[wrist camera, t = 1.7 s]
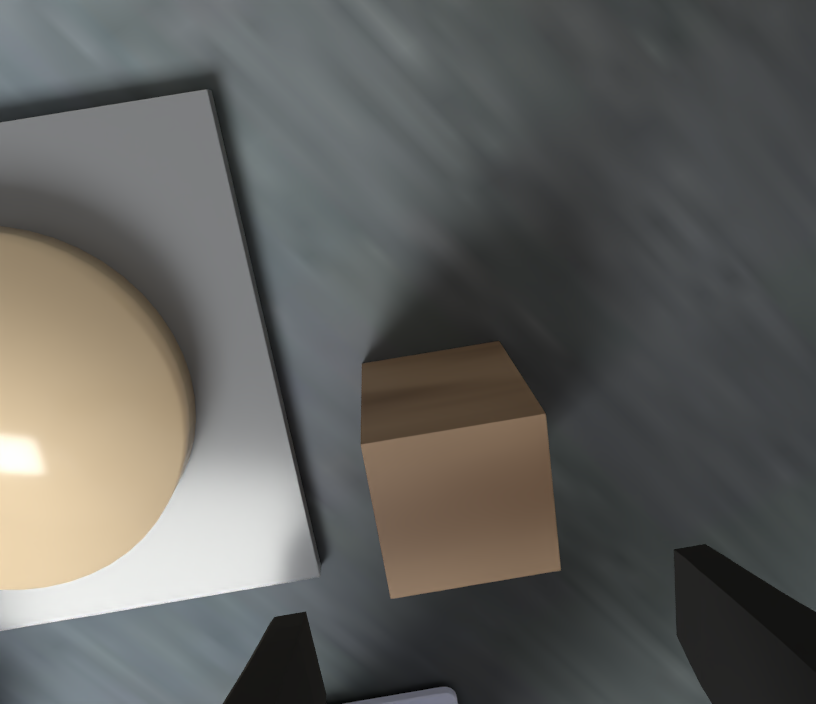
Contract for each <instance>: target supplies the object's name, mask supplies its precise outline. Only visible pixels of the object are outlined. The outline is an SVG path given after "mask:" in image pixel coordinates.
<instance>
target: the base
mask: <svg viewBox="0 0 816 704" xmlns="http://www.w3.org/2000/svg"><path fill="white" fill-rule="evenodd" d="M320 572H321V564H320V560H319V555H318V551H317V547H316V542H315V538H314V534H313V529H312V525H311V521H310V516H309V512H308V508H307V503H306V499H305V494H304V490H303V486H302V481H301V477H300V473H299V468H298V464H297V460H296V455H295V451H294V447H293V442H292V438H291V434H290V429H289V425H288V421H287V416H286V412H285V408H284V403H283V399H282V394H281V390H280V386H279V381H278V377H277V373H276V368H275V364H274V360H273V355H272V351H271V347H270V342H269V338H268V334H267V329H266V325H265V321H264V316H263V312H262V308H261V303H260V299H259V294H258V290H257V286H256V281H255V277H254V273H253V268H252V264H251V260H250V255H249V251H248V247H247V242H246V238H245V234H244V229H243V225H242V221H241V216H240V212H239V208H238V203H237V199H236V195H235V190H234V186H233V181H232V177H231V173H230V168H229V164H228V160H227V155H226V151H225V147H224V142H223V138H222V134H221V129H220V125H219V121H218V116H217V112H216V108H215V103H214V99H213V95H212V90H208V89H205V90H199V91H193V92H187V93H180V94H174V95H168V96H162V97H156V98H149V99H143V100H137V101H131V102H125V103H118V104H112V105H106V106H100V107H93V108H87V109H81V110H75V111H69V112H62V113H56V114H50V115H44V116H38V117H31V118H25V119H19V120H13V121H7V122H0V631H3V630H9V629H15V628H20V627H26V626H32V625H38V624H44V623H50V622H56V621H62V620H68V619H74V618H80V617H86V616H92V615H97V614H103V613H109V612H115V611H121V610H127V609H133V608H139V607H145V606H151V605H157V604H163V603H168V602H174V601H180V600H186V599H192V598H198V597H204V596H210V595H216V594H222V593H228V592H234V591H239V590H245V589H251V588H257V587H263V586H269V585H275V584H281V583H287V582H293V581H299V580H305V579H311V578H316V577H320Z"/></svg>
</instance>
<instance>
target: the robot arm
mask: <svg viewBox="0 0 816 704" xmlns="http://www.w3.org/2000/svg"><path fill="white" fill-rule="evenodd" d="M674 566H675V597H676V628H677V637H678V639H679V641H680V643H681V645H682V647H683V650H684V652H685V654H686V656H687V658H688V660H689V662H690V664H691V666H692V668H693V670H694V672H695V674H696V676H697V678H698V680H699V682H700V684H701V686H702V688H703V690H704V691H705V693H706V694H707V696H708V698H709V699H710V701H711V702H712V704H816V612H815V611H813V610H811V609H809V608H808V607H806V606H804V605H803V604H801V603H799V602H797V601H796V600H794V599H792V598H791V597H789V596H788V595H786V594H784V593H783V592H781V591H779V590H778V589H776V588H774V587H773V586H771V585H770V584H768V583H766V582H765V581H763V580H762V579H760V578H758V577H757V576H755V575H754V574H752V573H750V572H749V571H747V570H746V569H744V568H743V567H741V566H739V565H738V564H736V563H735V562H733V561H732V560H730V559H728V558H727V557H725V556H724V555H722V554H720V553H719V552H717V551H716V550H714V549H712V548H711V547H709V546H707V545H706V544H703V545H697V546H692V547H686V548H680V549H674ZM223 704H326V692H325V688H324V684H323V680H322V675H321V671H320V667H319V663H318V659H317V655H316V651H315V647H314V643H313V639H312V635H311V631H310V626H309V622H308V618H307V614H306V612H301V613H295V614H290V615H284V616H278V617H274V619H273V620H272V621H271V622H270V624H269V626H268V628H267V630H266V631H265V633H264V635H263V637H262V639H261V640H260V642H259V644H258V646H257V648H256V649H255V651H254V653H253V655H252V656H251V658H250V660H249V661H248V663H247V665H246V667H245V668H244V670H243V672H242V673H241V675H240V677H239V678H238V680H237V682H236V683H235V685H234V686H233V688H232V690H231V691H230V693H229V694H228V696H227V698H226V699H225V701H224V703H223ZM344 704H458V702H457V696H456V693H455V691H454V690H453V689H452V688H449V687H438V688H432V689H426V690H420V691H414V692H408V693H403V694H397V695H391V696H385V697H379V698H373V699H367V700H362V701H356V702H350V703H344Z"/></svg>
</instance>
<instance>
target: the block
mask: <svg viewBox="0 0 816 704" xmlns="http://www.w3.org/2000/svg"><path fill="white" fill-rule="evenodd" d="M361 448H362V454H363V459H364V464H365V469H366V474H367V479H368V484H369V490H370V495H371V500H372V505H373V510H374V515H375V520H376V525H377V531H378V536H379V541H380V546H381V551H382V556H383V561H384V567H385V572H386V577H387V582H388V587H389V592H390V597H391V599H394V598H400V597H406V596H412V595H418V594H424V593H429V592H435V591H441V590H447V589H453V588H459V587H465V586H471V585H477V584H483V583H489V582H495V581H501V580H507V579H512V578H518V577H524V576H530V575H536V574H542V573H548V572H554V571H560V570H561V566H560V556H559V545H558V535H557V525H556V514H555V504H554V494H553V483H552V473H551V463H550V452H549V442H548V432H547V421H546V413H545V412H544V410H543V409H542V407H541V406H540V404H539V402H538V401H537V399H536V398H535V396H534V395H533V393H532V391H531V390H530V388H529V387H528V385H527V384H526V382H525V381H524V379H523V377H522V376H521V374H520V373H519V371H518V370H517V368H516V366H515V365H514V363H513V362H512V360H511V359H510V357H509V356H508V354H507V352H506V351H505V349H504V348H503V346H502V345H501V343H500V342H499V341H495V342H489V343H483V344H477V345H471V346H465V347H459V348H453V349H447V350H441V351H435V352H429V353H423V354H417V355H411V356H405V357H399V358H393V359H387V360H381V361H375V362H369V363H363V364H362V395H361Z"/></svg>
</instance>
